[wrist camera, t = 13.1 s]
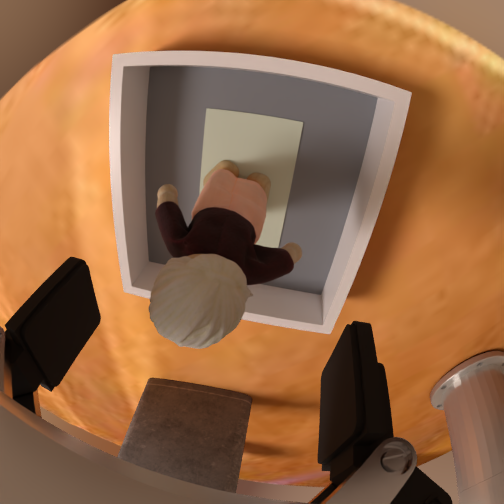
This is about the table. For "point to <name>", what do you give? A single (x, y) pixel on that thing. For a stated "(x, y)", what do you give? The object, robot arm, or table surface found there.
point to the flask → (189, 433)
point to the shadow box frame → (255, 164)
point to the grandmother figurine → (214, 257)
